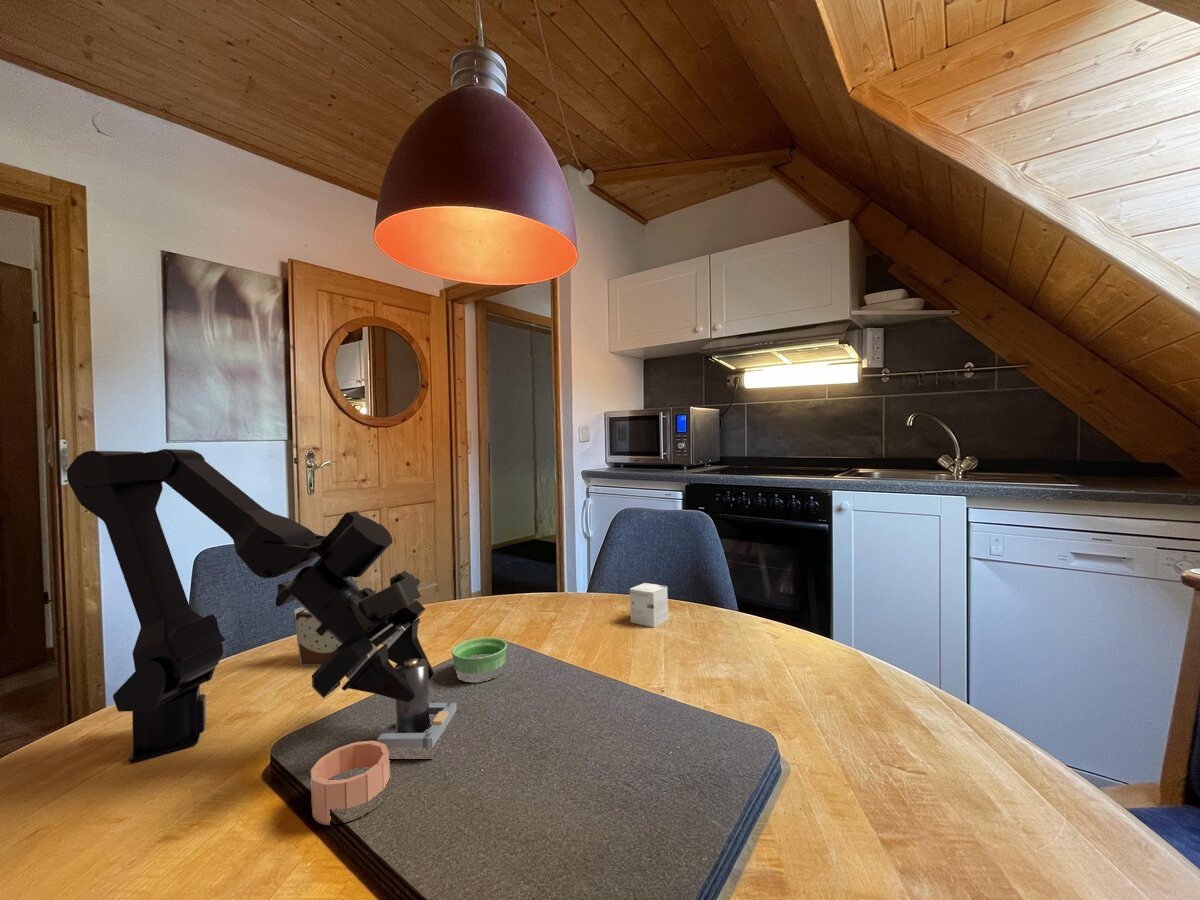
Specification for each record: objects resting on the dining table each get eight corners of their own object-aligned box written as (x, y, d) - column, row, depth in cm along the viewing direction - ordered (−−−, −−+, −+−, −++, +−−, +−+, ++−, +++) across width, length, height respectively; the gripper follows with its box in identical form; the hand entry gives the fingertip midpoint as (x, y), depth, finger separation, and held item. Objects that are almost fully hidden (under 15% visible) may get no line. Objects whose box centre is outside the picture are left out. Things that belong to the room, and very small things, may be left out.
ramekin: (450, 667, 83) (450, 642, 83) (503, 658, 86) (502, 633, 86) (454, 690, 75) (453, 662, 75) (512, 679, 78) (511, 652, 78)
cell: (400, 753, 59) (398, 670, 59) (393, 738, 62) (391, 660, 62) (433, 741, 61) (431, 661, 61) (425, 727, 64) (423, 652, 64)
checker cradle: (377, 760, 57) (377, 735, 57) (408, 721, 66) (408, 700, 66) (432, 759, 57) (432, 735, 57) (456, 721, 65) (456, 699, 66)
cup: (315, 836, 46) (314, 794, 46) (309, 795, 52) (308, 757, 52) (395, 803, 50) (394, 764, 50) (382, 768, 56) (381, 733, 56)
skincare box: (630, 623, 102) (628, 588, 103) (645, 615, 107) (643, 582, 107) (654, 628, 99) (653, 592, 99) (669, 619, 103) (667, 585, 104)
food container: (377, 652, 91) (375, 599, 91) (357, 666, 85) (356, 609, 85) (316, 652, 92) (314, 599, 92) (292, 665, 86) (291, 609, 86)
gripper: (335, 574, 53) (437, 674, 52) (410, 544, 71) (485, 617, 71) (267, 648, 53) (368, 748, 52) (359, 599, 72) (434, 672, 71)
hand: (422, 687), depth 62 cm, fingers open, 6 cm apart
